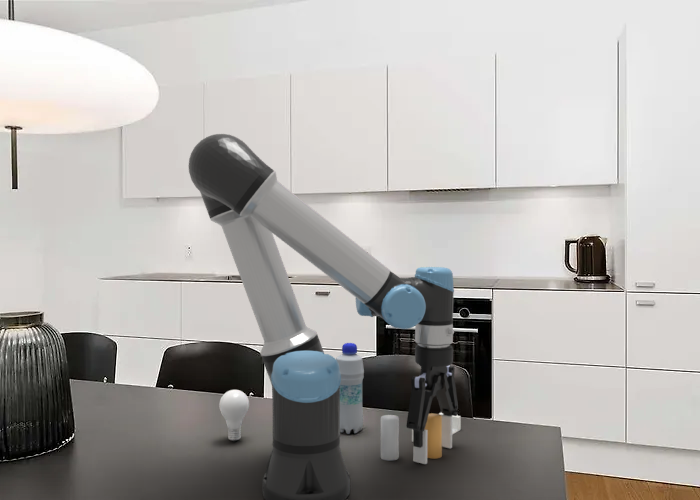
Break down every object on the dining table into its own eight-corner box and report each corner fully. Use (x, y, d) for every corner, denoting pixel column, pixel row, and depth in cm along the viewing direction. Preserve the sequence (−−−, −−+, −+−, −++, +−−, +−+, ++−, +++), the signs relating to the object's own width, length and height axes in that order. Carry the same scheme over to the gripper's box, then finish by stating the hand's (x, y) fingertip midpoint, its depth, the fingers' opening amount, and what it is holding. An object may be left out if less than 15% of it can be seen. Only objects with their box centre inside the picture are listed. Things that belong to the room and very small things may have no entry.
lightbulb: (213, 442, 129) (212, 391, 129) (232, 433, 135) (231, 385, 134) (236, 447, 126) (236, 395, 126) (255, 438, 132) (255, 388, 131)
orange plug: (436, 460, 120) (436, 419, 119) (420, 456, 122) (420, 416, 121) (445, 454, 122) (444, 415, 122) (429, 451, 125) (429, 412, 124)
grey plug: (392, 461, 119) (392, 421, 118) (377, 457, 121) (377, 418, 120) (402, 456, 121) (402, 416, 121) (387, 452, 124) (387, 413, 123)
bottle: (365, 426, 140) (365, 340, 139) (362, 436, 133) (362, 346, 133) (336, 425, 141) (336, 340, 140) (332, 435, 134) (332, 345, 133)
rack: (432, 446, 127) (432, 431, 127) (411, 441, 130) (411, 427, 130) (460, 429, 138) (460, 416, 138) (441, 425, 141) (441, 412, 140)
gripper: (422, 355, 110) (421, 476, 111) (475, 338, 128) (474, 442, 129) (387, 350, 115) (387, 467, 115) (443, 334, 133) (442, 435, 133)
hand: (433, 454), depth 122 cm, fingers open, 10 cm apart
